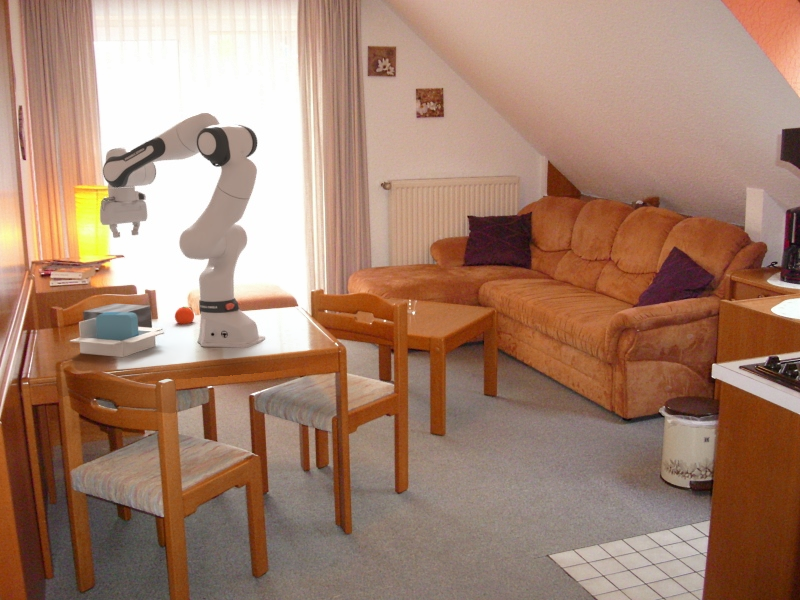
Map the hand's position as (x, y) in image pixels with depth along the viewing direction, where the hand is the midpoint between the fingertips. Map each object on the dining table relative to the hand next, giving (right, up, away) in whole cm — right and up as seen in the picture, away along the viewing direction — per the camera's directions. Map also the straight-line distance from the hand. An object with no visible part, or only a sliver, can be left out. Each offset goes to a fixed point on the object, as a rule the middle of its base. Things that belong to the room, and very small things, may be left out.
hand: (126, 236), depth 275 cm
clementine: (+16, -32, +19) cm, 40 cm away
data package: (+4, -39, -19) cm, 43 cm away
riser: (-4, -34, +6) cm, 35 cm away
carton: (+6, -38, -20) cm, 43 cm away
